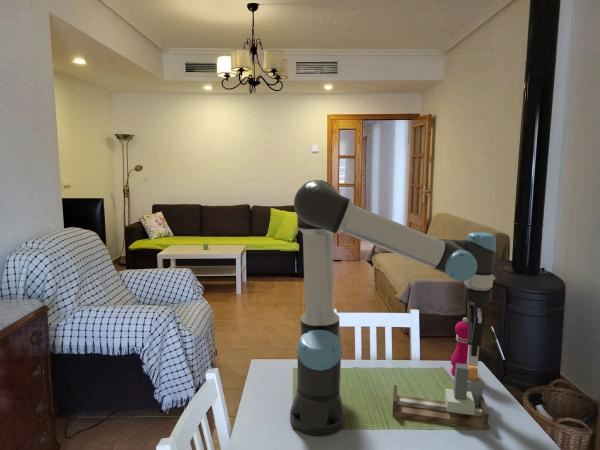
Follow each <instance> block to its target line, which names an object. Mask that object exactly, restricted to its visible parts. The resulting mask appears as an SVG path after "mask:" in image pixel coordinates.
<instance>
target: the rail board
mask: <svg viewBox="0 0 600 450" xmlns="http://www.w3.org/2000/svg"><path fill="white" fill-rule="evenodd" d="M392 393H393V394H392V396H393V398H392V415H391V416H392V417H397V418H402V419H403V418H404V419H413V420H417V421H418V420H419V421H424V422H425V421H426V422H431V423H432V422H433V423H440V424H447V425H452V426H453V425H454V426H459V427H467V428H474V429H480V430H481V429H482V430H488V429H489V423H490V422H489V420H490V419H489V418H490V412H489V409H488V406H487V404H486V401H485V398H484V396H479V406H475V412H474V415H469V414H461V413H454V412H447V408H446V403H445V400H444V401H443V400H436V399H430V398H429V399H428V398H422V397H414V396H407V395H399V394H398V385H396V384H394V385H393V392H392Z"/></svg>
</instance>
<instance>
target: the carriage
mask: <svg viewBox="0 0 600 450" xmlns="http://www.w3.org/2000/svg"><path fill="white" fill-rule="evenodd" d="M468 371H469V369H468V366H467V364H460V363H456V367H455V376H454V381H453V389H452V388H451V389H450V388H445V391H444V401H445V403H446V408H447V412H454V413H461V414H469V415H474V412H475V403H474V400H473V396H472V393H471V392H468V391H467V384H468Z"/></svg>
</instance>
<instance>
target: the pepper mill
mask: <svg viewBox="0 0 600 450" xmlns="http://www.w3.org/2000/svg"><path fill="white" fill-rule="evenodd" d="M468 320H469V317H463V318H462V321H461V320H460V321H458V322H457V323H456V325H455V327H454V332H455V333H456V335H455V336H456V337H455V340H456V342H457V343H456V348H455V350H454V351H453V353H452V355H451V358H450V364H451V366H452V367H451V375H452V376H454V377H455V367H456V363H460V364H467V358H468V344H467V342H470V341H469V340H468V338H469V337H468ZM467 365H468V364H467Z"/></svg>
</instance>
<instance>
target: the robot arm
mask: <svg viewBox="0 0 600 450" xmlns="http://www.w3.org/2000/svg"><path fill="white" fill-rule="evenodd" d="M293 208H294V211H295V214H296V218H297V219H296V221H297V223H296V225H297V229H298V230H299V231H300V232H301V233H302V244H303V246H302V247H303V248H302V249H303V252H302V253H303V281H304V284H303V285H304V309H305V310H304V311H305V312H304V313H303V314H301V316H300V337H299V339H298V343H297V347H296V353H297V371H296V372H297V374H296V375H297V377H296V378H297V380H296V381H297V382H296V393H295V396H294V398H293V402H292V404H291V407H290V411H289V421H290V424H291V425H292V427H294V429H296V430H297V431H299V432H301V433H303V434H306V435H309V436H316V437H317V436H318V437H319V436H320V437H322V436H328V435H334V434H335V433H338V432H340V431H341V430H342V429H343V428H344V426H345V424H346V411H345V406H344V403H343V400H342V396H341V394H340V393H341V389H340V388H341V371H342V370H341V367H342V365H341V364H342V355H343V354H342V353H343V347H342V342H341V332H340V329H341V328H340V327H341V326H340V325H341V324H340V316H339V314H337V313H336V312H335V293H334V292H335V288H334V287H335V285H334V245H333V243H334V241H333V238H334V237H333V234H336V235H338V234H341V233H344V234H345V235H349V236H351V237H354V238H356V239H359V240H361V241H363V242H366V243H369V244H371V245H373V246H377V248H378V247H379V248H381V249H384V250H386V251H389V252H391V253H394V254H395V255H396V254H397V255H399V256H401V257H404V258H406V259H408V260H411V261H414V262H415V263H416V262H417V263H419V264H422V265H423V266H426V267H429V268H431V269H432V270H436V271H438V272H440V273H442V274H446V275H447V276H448V277H450V278H451V279H453V280H455V281H459V282H464V283H463V285H464V287H463V299H464V300H465V301H467V302H470V303H468V305H467V307H468V308H467V309H468V337H469V338H468V340H469V341H470V342H467V344H468V358H467V364H468V365H470V366H477V367H479V366H478V364H479V355H480V347H482V339H483V332H484V325H485V321H486V318H485V316H484V315H486V308H484V304H489V303H491V302H492V299H493V289H492V288H493V284H494V281H495V280H496V276H494V273H495V271H494V270H495V262H496V253H497V236H495V235H494V234H493V233H489V232H481V231H480V232H479V231H478V232H477V231H475V232H469V233H468V234H467V237H466V239H447V238H446V239H445V238H438V237H437V238H436V237H434V236H432V235H429V234H426V233H424V232H421V231H419V230H418V229H417V230H416V229H414V228H412V227H409V226H406V225H403V224H401V223H400V222H397V221H394V220H392V219H389V218H387V217H384V216H383V215H380V214H377V213H374V212H373V211H370V210H367V209H365V208H362V207H360V206H357V205H354V204H353V201H352V199H350V198H348V197H346V196H344V195H342V194H340V193H338V192H337V191H336V188H334V186H333V185H331V183H330V182H328V181H326V180H322V179H314V180H313V179H312V180H309V181H307V182H305V183H303V184H302V186H300V188H299V189H298V190H297V191H296V193H295V195H294V200H293Z"/></svg>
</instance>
